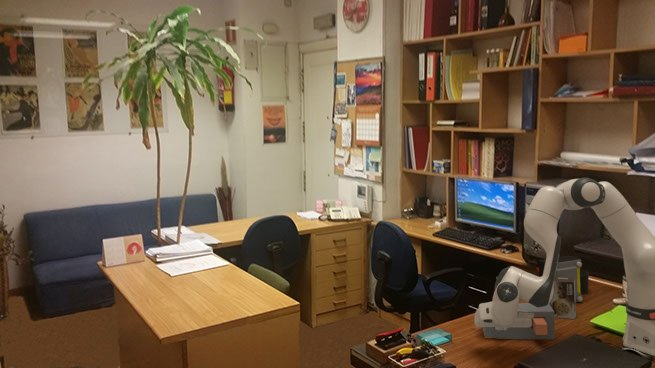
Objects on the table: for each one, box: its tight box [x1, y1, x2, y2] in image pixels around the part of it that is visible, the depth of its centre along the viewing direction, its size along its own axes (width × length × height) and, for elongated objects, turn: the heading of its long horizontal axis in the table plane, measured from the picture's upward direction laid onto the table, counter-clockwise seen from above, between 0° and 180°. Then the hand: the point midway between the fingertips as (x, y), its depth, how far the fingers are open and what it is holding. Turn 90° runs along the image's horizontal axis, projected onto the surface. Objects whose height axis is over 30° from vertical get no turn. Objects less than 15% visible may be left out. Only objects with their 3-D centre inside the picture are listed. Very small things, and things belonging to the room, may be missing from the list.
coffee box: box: [552, 277, 577, 320], centre depth 233 cm, size 9×6×16 cm
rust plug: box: [532, 317, 548, 335], centre depth 208 cm, size 11×4×4 cm, turn 169°
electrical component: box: [536, 255, 584, 307], centre depth 250 cm, size 18×10×20 cm, turn 105°
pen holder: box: [581, 269, 590, 296], centre depth 263 cm, size 9×9×10 cm
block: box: [481, 302, 556, 340], centre depth 217 cm, size 10×26×11 cm, turn 79°
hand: (501, 328), depth 207 cm, fingers closed
